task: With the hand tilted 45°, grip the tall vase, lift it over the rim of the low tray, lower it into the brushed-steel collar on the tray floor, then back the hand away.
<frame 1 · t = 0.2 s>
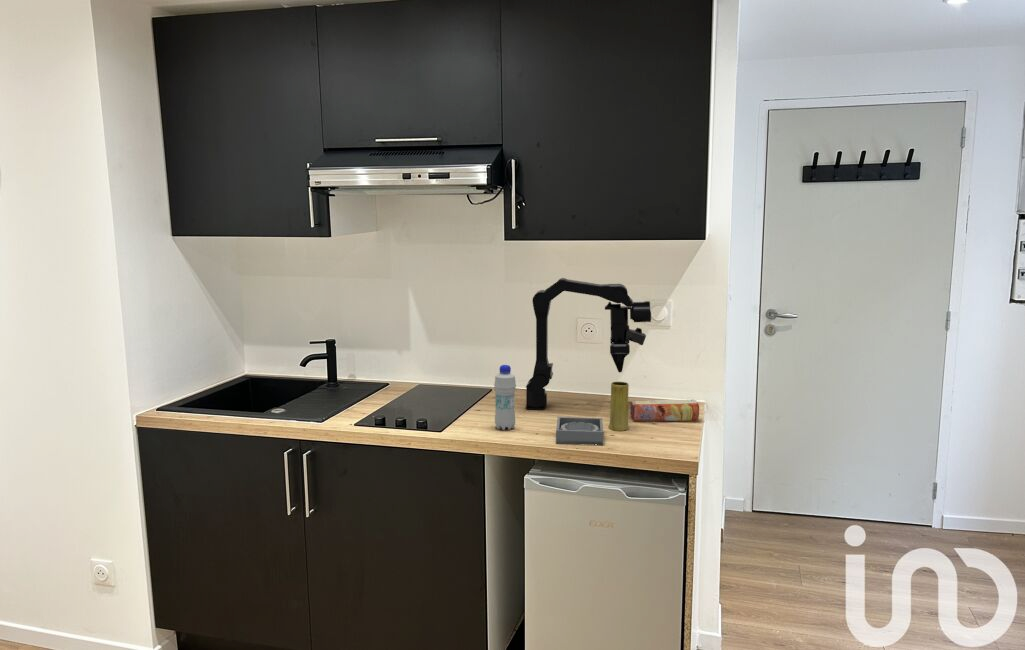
hand: (620, 369, 250), 14 cm above the worktop, tool pointing down, fingers open, 9 cm apart
bottle: (505, 428, 233), on the worktop
snack package: (664, 421, 242), on the worktop
collar: (579, 430, 224), in the tray, point 1 cm above the worktop
vase: (618, 428, 233), on the worktop
tray: (579, 437, 225), on the worktop
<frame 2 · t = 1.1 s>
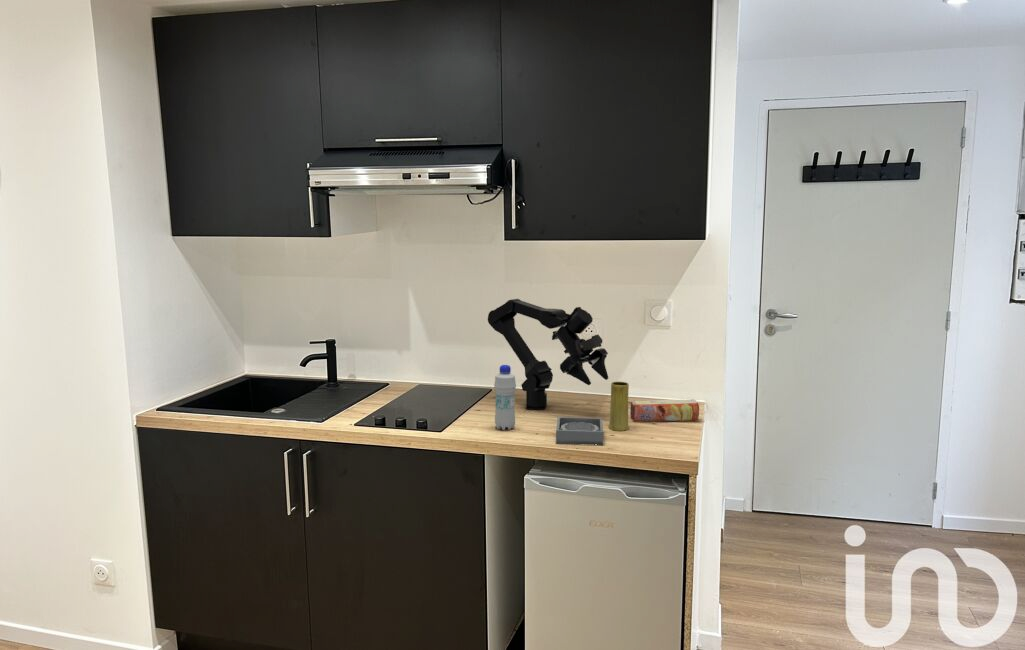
hand: (598, 381, 236), 13 cm above the worktop, tool tilted 45°, fingers open, 9 cm apart
nothing on the worktop moved.
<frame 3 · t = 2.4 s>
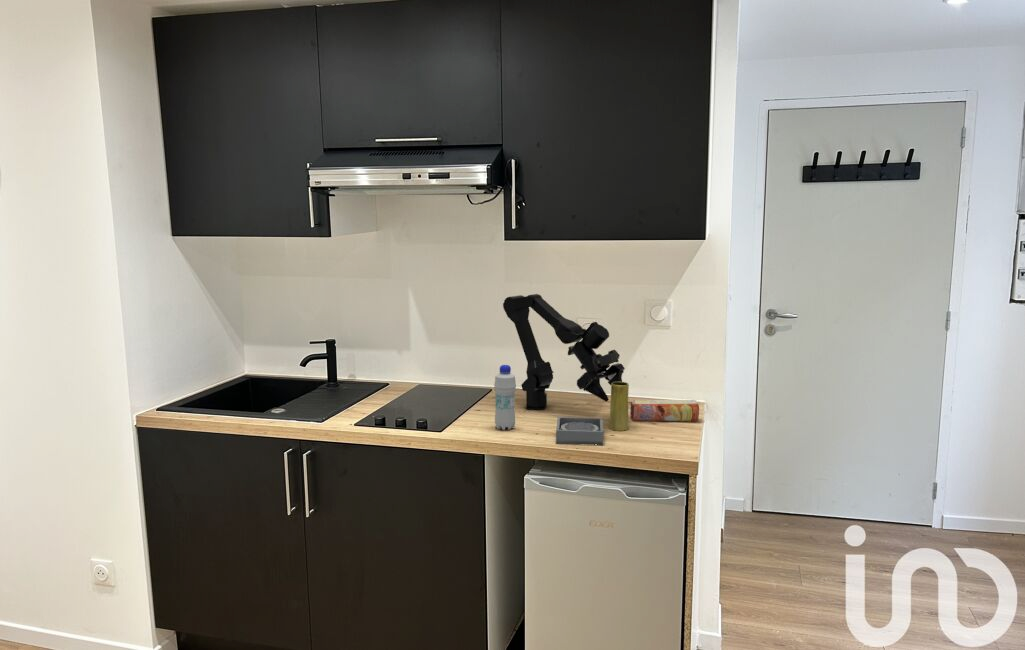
hand: (616, 397, 232), 9 cm above the worktop, tool tilted 45°, fingers open, 9 cm apart
nothing on the worktop moved.
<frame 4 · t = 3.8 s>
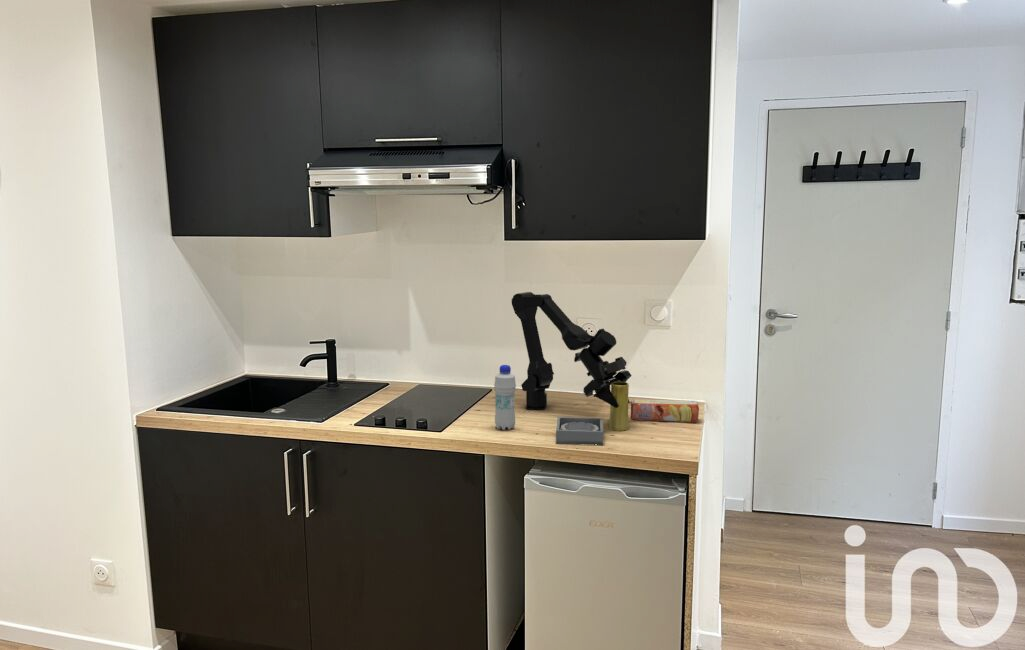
hand: (623, 405, 231), 8 cm above the worktop, tool tilted 45°, fingers closed on vase, 5 cm apart
vase: (618, 428, 233), on the worktop, touching gripper
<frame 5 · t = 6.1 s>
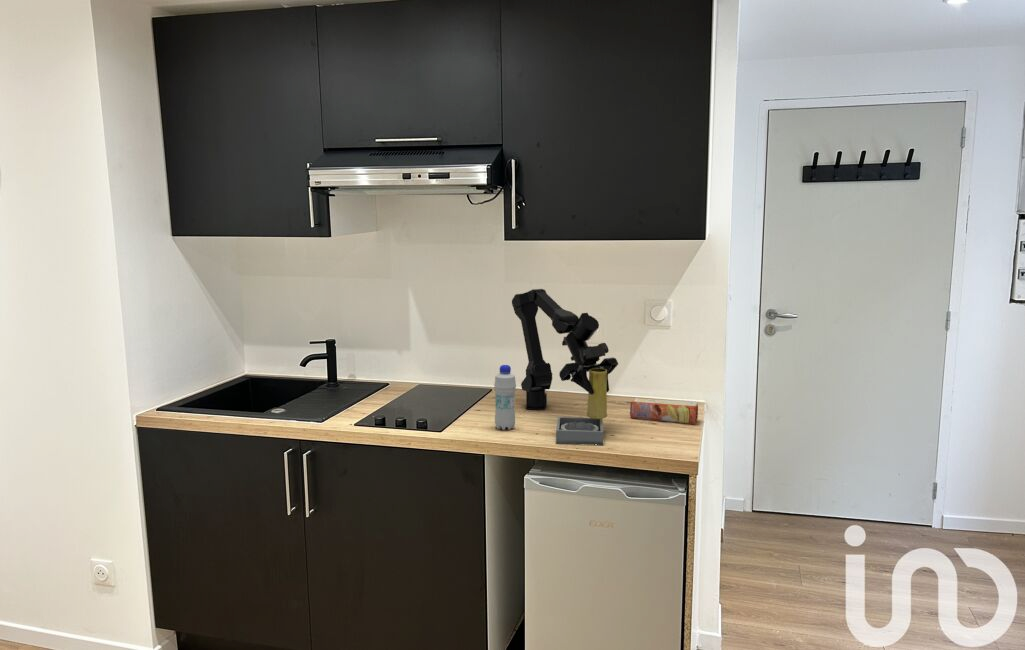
hand: (600, 392, 224), 13 cm above the worktop, tool tilted 45°, fingers closed on vase, 5 cm apart
vase: (596, 416, 226), point 5 cm above the worktop, touching gripper
when the fingers open (9 cm above the worktop, at t = 8.3 s): vase stays where it is, resting on tray.
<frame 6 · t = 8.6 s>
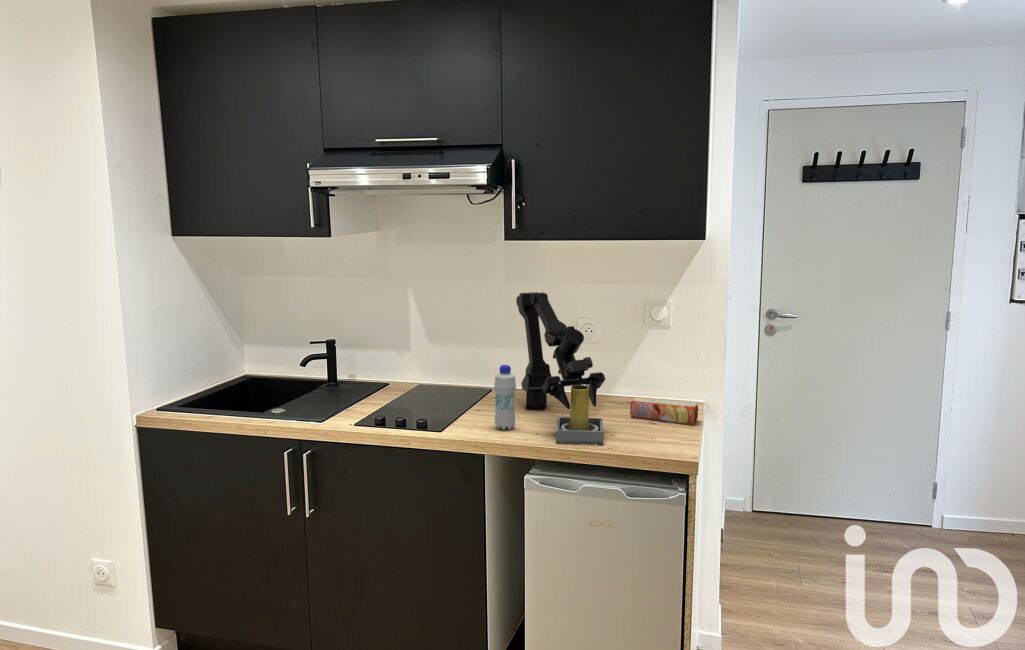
hand: (582, 407, 222), 10 cm above the worktop, tool tilted 45°, fingers open, 8 cm apart
vase: (579, 434, 225), point 1 cm above the worktop, touching tray
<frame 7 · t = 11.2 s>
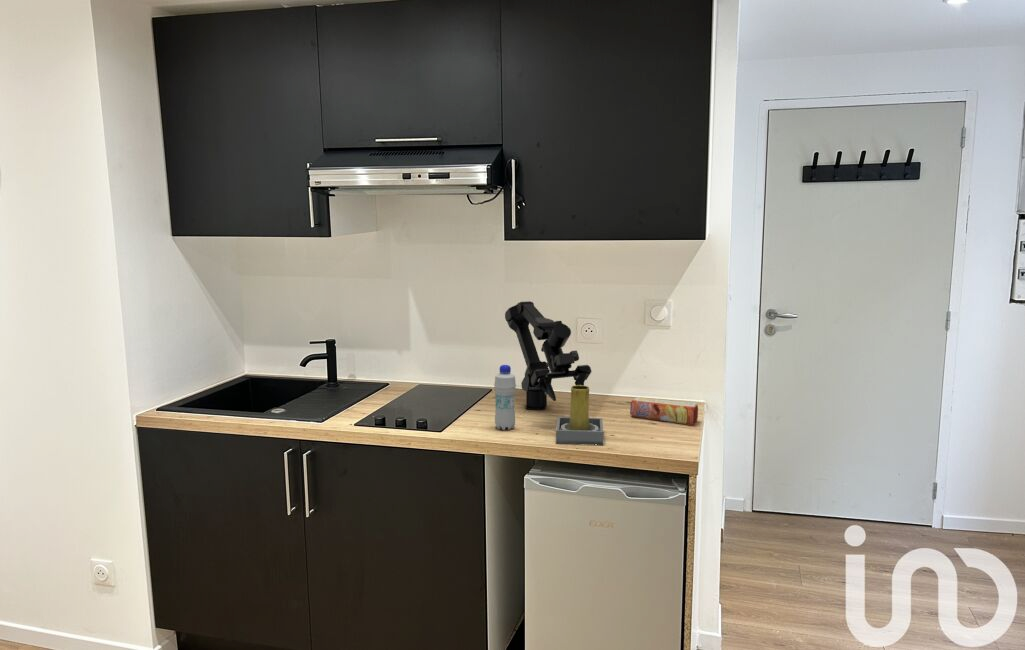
hand: (568, 398, 231), 10 cm above the worktop, tool tilted 45°, fingers open, 9 cm apart
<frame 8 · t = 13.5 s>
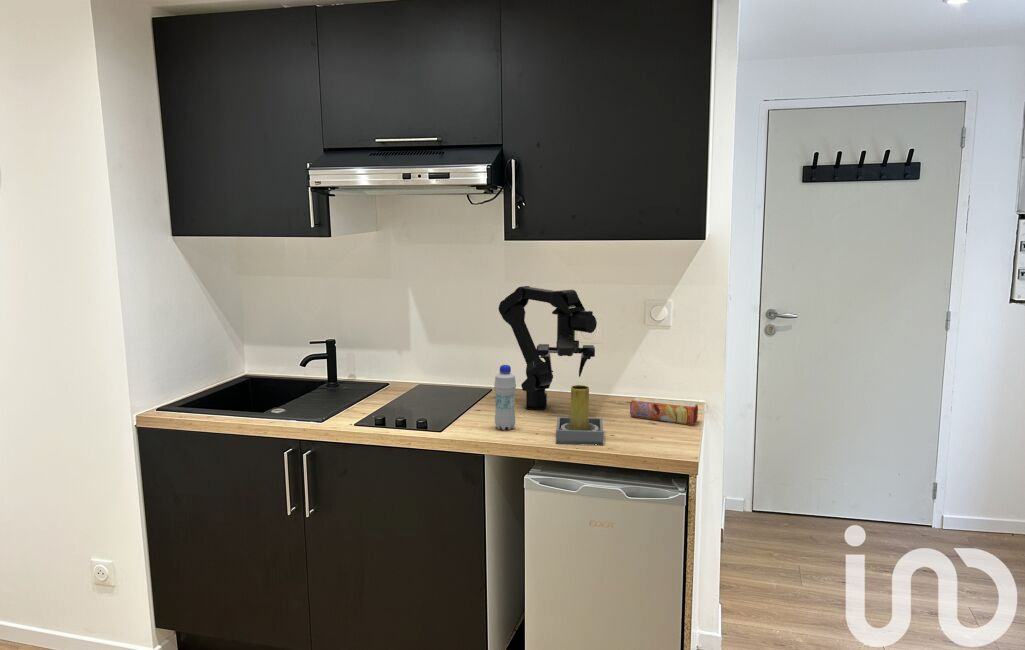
hand: (565, 376, 245), 13 cm above the worktop, tool pointing down, fingers open, 9 cm apart
at the end: vase 0.2 cm off-centre on the tray, point 0.8 cm above the tray's base; vase tilted 0°; the gripper is holding nothing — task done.
